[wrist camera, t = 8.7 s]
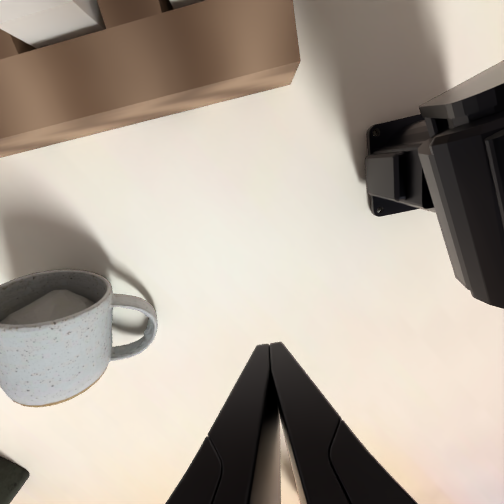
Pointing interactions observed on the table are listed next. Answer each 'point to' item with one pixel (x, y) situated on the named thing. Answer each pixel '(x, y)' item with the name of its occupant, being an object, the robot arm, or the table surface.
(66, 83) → the button board
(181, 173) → the table surface
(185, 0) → the button
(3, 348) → the ceramic mug
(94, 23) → the middle button
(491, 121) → the robot arm
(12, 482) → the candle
